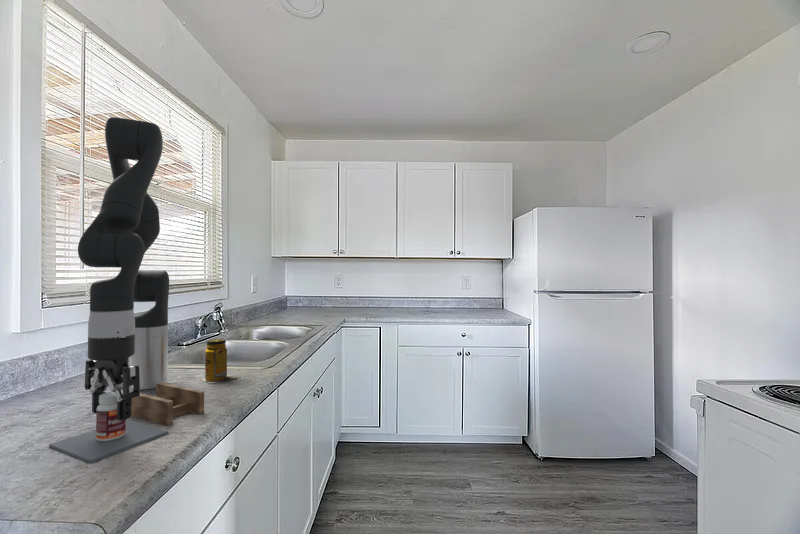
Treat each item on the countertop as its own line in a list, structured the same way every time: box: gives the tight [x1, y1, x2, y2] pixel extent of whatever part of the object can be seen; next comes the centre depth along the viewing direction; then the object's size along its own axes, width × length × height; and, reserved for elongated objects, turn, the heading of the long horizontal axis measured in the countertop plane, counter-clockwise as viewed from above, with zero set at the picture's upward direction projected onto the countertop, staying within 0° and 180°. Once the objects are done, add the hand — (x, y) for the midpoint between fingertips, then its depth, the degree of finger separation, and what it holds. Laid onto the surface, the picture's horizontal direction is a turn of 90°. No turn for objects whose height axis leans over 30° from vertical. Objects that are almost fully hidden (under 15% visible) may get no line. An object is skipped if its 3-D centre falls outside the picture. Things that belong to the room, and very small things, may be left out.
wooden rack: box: [131, 382, 205, 427], centre depth 94 cm, size 16×9×5 cm, turn 64°
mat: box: [48, 419, 169, 464], centre depth 79 cm, size 14×14×1 cm
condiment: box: [199, 338, 238, 385], centre depth 123 cm, size 7×8×12 cm
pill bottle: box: [95, 391, 127, 441], centre depth 79 cm, size 5×5×8 cm
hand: (111, 415), depth 79 cm, fingers open, 8 cm apart
